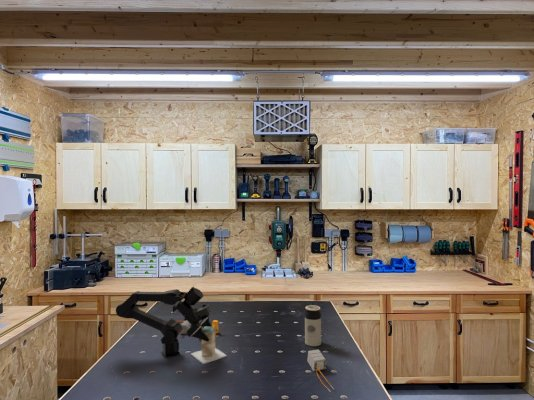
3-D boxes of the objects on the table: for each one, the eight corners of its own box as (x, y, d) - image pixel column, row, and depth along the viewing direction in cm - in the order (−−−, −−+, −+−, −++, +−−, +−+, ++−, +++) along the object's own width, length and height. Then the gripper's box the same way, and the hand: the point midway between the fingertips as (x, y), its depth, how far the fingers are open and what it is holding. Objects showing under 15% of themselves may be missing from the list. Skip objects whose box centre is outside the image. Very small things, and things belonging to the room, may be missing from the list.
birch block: (201, 356, 157) (201, 330, 157) (204, 351, 162) (204, 326, 162) (212, 357, 157) (212, 330, 157) (215, 352, 162) (215, 326, 162)
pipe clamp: (204, 341, 176) (204, 328, 176) (198, 339, 179) (198, 326, 179) (220, 333, 186) (220, 321, 186) (215, 331, 188) (215, 319, 188)
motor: (196, 322, 202) (194, 313, 202) (186, 337, 180) (184, 327, 180) (157, 328, 203) (155, 320, 203) (142, 344, 181) (141, 335, 181)
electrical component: (343, 397, 131) (344, 386, 130) (329, 400, 129) (330, 388, 128) (317, 357, 153) (318, 347, 152) (305, 359, 152) (306, 349, 151)
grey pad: (203, 364, 151) (203, 363, 151) (190, 354, 160) (190, 353, 160) (226, 356, 158) (226, 355, 158) (213, 347, 168) (213, 346, 168)
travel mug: (309, 338, 177) (309, 304, 177) (323, 342, 173) (323, 306, 173) (302, 344, 171) (301, 308, 171) (316, 348, 166) (316, 311, 166)
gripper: (193, 306, 150) (218, 332, 149) (205, 294, 169) (228, 317, 168) (176, 323, 151) (200, 350, 150) (190, 310, 170) (212, 333, 169)
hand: (211, 336), depth 159 cm, fingers open, 9 cm apart
